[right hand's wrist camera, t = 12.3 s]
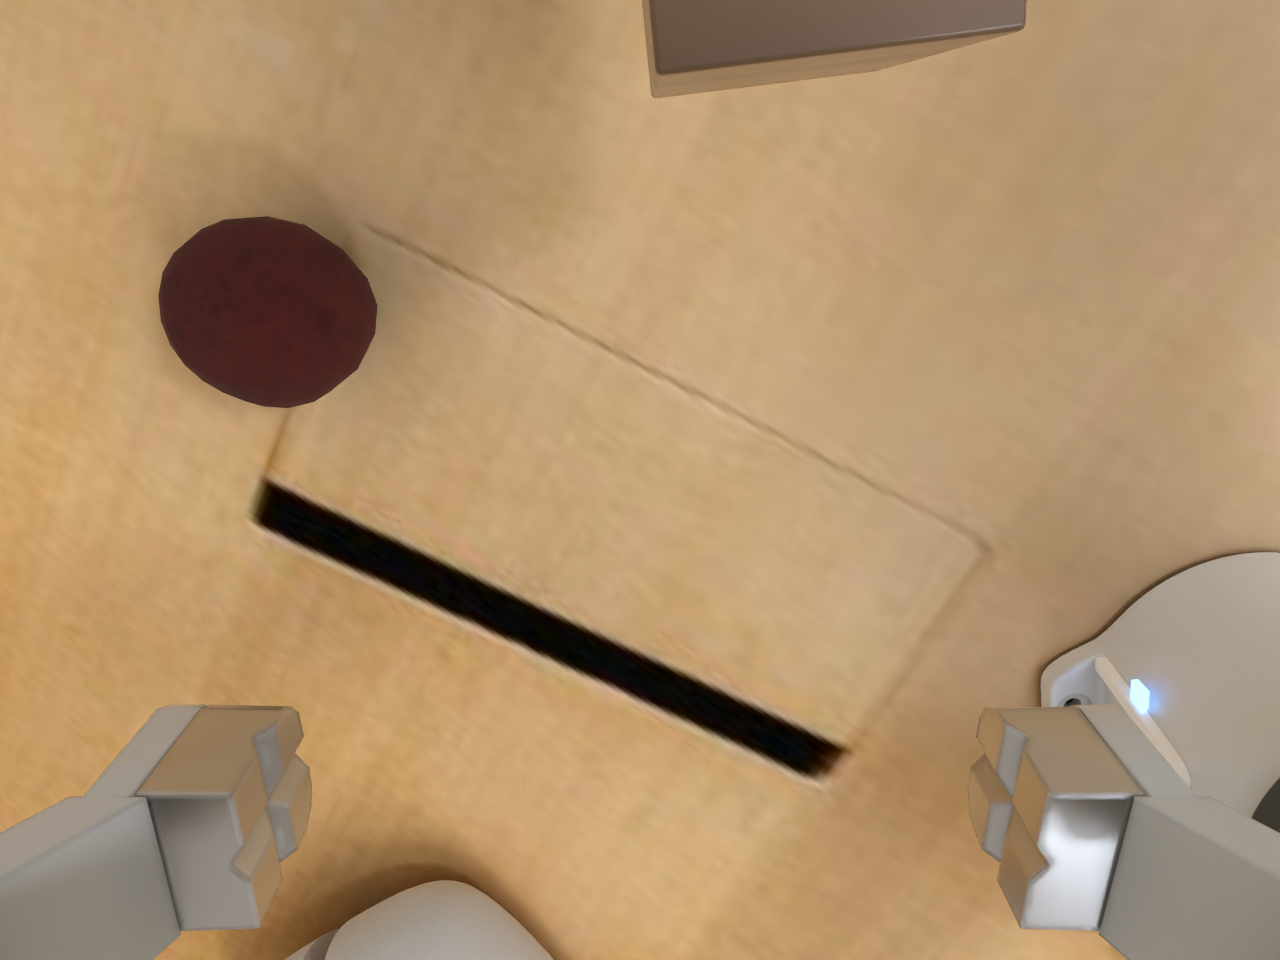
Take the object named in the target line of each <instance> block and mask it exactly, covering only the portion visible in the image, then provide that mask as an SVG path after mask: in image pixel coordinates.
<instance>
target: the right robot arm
mask: <svg viewBox="0 0 1280 960" xmlns="http://www.w3.org/2000/svg"><path fill="white" fill-rule="evenodd" d="M1040 683H1041V707H987V708H985V709H984V711H983V713H982V714H981V716H980V718H979V724H978V729H977V735H976V737H977V739H978V741H979V742H980V744H981V746H982V748H983V750H984V752H985V754H984V755H983V756H982V757H981V758H980V759H979V760H978V761H977V762H976V763H975V764H974V765H973V766H972V767H971V771H970V779H969V786H968V798H969V810H970V817H971V820H972V824H973V828H974V831H975V834H976V836H977V838H978V840H979V843H980V845H981V847H982V849H983V850H984V851H985V852H987V853H988V854H989V855H991V856H992V857H994V858H995V859H996V860H998V861H999V862H1000V868H999V873H998V879H997V881H998V883H999V885H1000V887H1001V889H1002V891H1003V893H1004V895H1005V897H1006V899H1007V901H1008V903H1009V905H1010V907H1011V910H1012V912H1013V914H1014V916H1015V918H1016V920H1017V922H1018V924H1019V926H1020V928H1021V929H1051V930H1086V931H1100V933H1099V935H1100V936H1101V937H1102V938H1104V939H1105V940H1106V941H1107V942H1108V943H1109V944H1111V945H1112V946H1113V947H1114V948H1115V949H1116V950H1117V951H1119V952H1120V953H1121V954H1122V955H1123V956H1124V957H1126V958H1127V959H1128V960H1280V552H1253V553H1243V554H1237V555H1231V556H1226V557H1222V558H1218V559H1215V560H1211V561H1208V562H1205V563H1202V564H1199V565H1197V566H1194V567H1192V568H1189V569H1187V570H1185V571H1183V572H1180V573H1178V574H1176V575H1174V576H1173V577H1171V578H1169V579H1167V580H1165V581H1164V582H1162V583H1161V584H1159V585H1157V586H1156V587H1154V588H1153V589H1151V590H1150V591H1149V592H1147V593H1146V594H1144V595H1143V596H1142V597H1141V598H1139V599H1138V600H1137V601H1136V602H1135V603H1134V604H1132V605H1131V606H1130V607H1129V608H1128V609H1127V610H1126V611H1125V612H1124V613H1123V614H1122V615H1121V616H1120V617H1119V618H1118V619H1117V620H1116V621H1115V622H1114V623H1113V624H1112V625H1111V626H1110V627H1109V628H1108V629H1107V630H1106V631H1104V632H1103V633H1102V634H1101V635H1100V636H1098V637H1097V638H1096V639H1094V640H1092V641H1090V642H1088V643H1086V644H1084V645H1082V646H1080V647H1078V648H1076V649H1074V650H1072V651H1070V652H1068V653H1066V654H1064V655H1062V656H1061V657H1059V658H1058V659H1056V660H1054V661H1053V662H1052V663H1051V664H1049V665H1048V666H1047V668H1046V669H1045V670H1044V672H1043V674H1042V677H1041V682H1040ZM1072 698H1074V700H1073V701H1072V702H1070V703H1068V704H1065V702H1066V701H1067V700H1069V699H1072ZM303 737H304V735H303V730H302V725H301V721H300V716H299V713H298V712H297V711H296V710H295V709H294V708H293V707H287V706H241V705H209V706H206V705H167V706H164V707H161V708H158V709H157V710H156V711H155V712H154V713H153V714H152V715H151V717H150V718H149V719H148V720H147V721H146V723H145V724H144V725H143V726H142V727H141V728H140V730H139V731H138V732H137V733H136V734H135V736H134V737H133V738H132V739H131V740H130V741H129V743H128V744H127V745H126V746H125V747H124V749H123V750H122V751H121V752H120V753H119V754H118V756H117V757H116V758H115V759H114V760H113V762H112V763H111V764H110V765H109V766H108V768H107V769H106V770H105V771H104V772H103V773H102V775H101V776H100V777H99V778H98V779H97V781H96V782H95V783H94V784H93V785H92V786H91V788H90V789H89V790H88V791H87V792H86V794H85V795H84V796H83V797H68V798H66V799H64V800H62V801H60V802H58V803H56V804H54V805H52V806H51V807H49V808H47V809H45V810H43V811H41V812H39V813H37V814H35V815H33V816H32V817H30V818H28V819H26V820H24V821H22V822H20V823H18V824H16V825H14V826H12V827H11V828H9V829H7V830H5V831H3V832H1V833H0V960H153V959H154V958H155V957H156V956H157V955H158V954H160V953H161V952H162V951H163V950H164V949H165V948H166V947H168V946H169V945H170V944H171V943H172V942H173V941H175V940H176V939H177V938H178V937H179V936H180V935H181V933H180V931H193V930H227V929H259V928H260V926H261V924H262V922H263V920H264V918H265V916H266V914H267V912H268V910H269V908H270V905H271V903H272V901H273V899H274V897H275V895H276V893H277V891H278V889H279V887H280V885H281V883H282V881H283V879H282V873H281V868H280V862H281V861H282V860H284V859H285V858H286V857H288V856H289V855H291V854H292V853H293V852H295V851H296V850H297V849H298V847H299V845H300V843H301V840H302V838H303V836H304V834H305V831H306V828H307V824H308V819H309V814H310V810H311V805H312V783H311V777H310V770H309V767H308V766H307V765H306V764H305V763H304V762H303V761H302V760H301V759H300V758H299V757H298V756H297V755H296V754H295V752H296V750H297V748H298V746H299V744H300V742H301V741H302V739H303Z"/></svg>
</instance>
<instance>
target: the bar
mask: <svg viewBox="0 0 1280 960" xmlns="http://www.w3.org/2000/svg"><path fill="white" fill-rule="evenodd" d="M642 6H643V16H644V26H645V36H646V46H647V56H648V66H649V76H650V86H651V95H652V97H653V98H662V97H670V96H678V95H687V94H695V93H703V92H711V91H719V90H727V89H735V88H743V87H751V86H759V85H767V84H775V83H783V82H792V81H800V80H808V79H816V78H824V77H832V76H840V75H848V74H856V73H864V72H872V71H878V70H881V69H885V68H888V67H892V66H895V65H899V64H903V63H906V62H910V61H913V60H917V59H921V58H924V57H928V56H931V55H935V54H939V53H942V52H946V51H949V50H953V49H956V48H960V47H964V46H967V45H971V44H974V43H978V42H982V41H985V40H989V39H992V38H996V37H999V36H1003V35H1007V34H1010V33H1014V32H1017V31H1020V30H1022V29H1023V28H1024V26H1025V20H1026V0H642Z"/></svg>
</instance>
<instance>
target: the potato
mask: <svg viewBox="0 0 1280 960" xmlns="http://www.w3.org/2000/svg"><path fill="white" fill-rule="evenodd" d="M159 305H160V316H161V322H162V325H163V327H164V330H165V332H166V335H167V337H168V340H169V342H170V345H171V346H172V348H173V349H174V351H175V352H176V353H177V355H178V356H179V358H180V359H181V360H182V362H183V363H184V365H186V366H187V367H188V368H189V369H190V370H191V371H192V372H194V373H195V374H196V375H197V376H198V377H199V378H200V379H202V380H203V381H204V382H206V383H208V384H209V385H211V386H213V387H215V388H216V389H218V390H220V391H222V392H223V393H226V394H229V395H231V396H234V397H236V398H239V399H241V400H244V401H247V402H250V403H254V404H257V405H261V406H266V407H281V408H290V407H294V406H298V405H302V404H306V403H310V402H314V401H316V400H317V399H319V398H320V397H322V396H324V395H325V394H327V393H329V392H330V391H331V390H332V389H334V388H335V387H336V386H337V385H339V384H340V383H341V382H342V381H343V380H345V379H346V378H347V377H348V376H349V375H351V374H352V373H353V372H354V371H356V370H357V369H358V367H359V365H360V363H361V361H362V359H363V357H364V355H365V353H366V351H367V349H368V347H369V345H370V343H371V341H372V339H373V337H374V334H375V328H376V316H377V303H376V300H375V298H374V295H373V292H372V290H371V287H370V284H369V282H368V279H367V277H366V276H365V275H364V274H363V273H362V272H361V271H360V269H359V268H358V267H357V266H356V265H355V264H354V262H353V261H352V260H351V259H350V258H349V257H348V255H347V254H346V253H345V252H344V251H343V250H342V249H341V248H340V247H338V246H337V245H335V244H333V243H332V242H330V241H329V240H327V239H326V238H324V237H323V236H321V235H320V234H318V233H316V232H315V231H313V230H312V229H310V228H309V227H307V226H306V225H302V224H298V223H293V222H289V221H285V220H280V219H276V218H272V217H255V218H241V219H228V220H223V221H220V222H218V223H215V224H213V225H211V226H208V227H206V228H203V229H201V230H200V231H199V232H198V233H197V234H195V235H194V236H193V237H192V238H191V239H190V240H188V241H187V242H186V243H185V244H184V245H183V246H181V247H180V248H179V249H178V250H177V251H176V252H174V253H173V255H172V257H171V259H170V261H169V262H168V264H167V266H166V268H165V269H164V271H163V274H162V280H161V285H160V291H159Z"/></svg>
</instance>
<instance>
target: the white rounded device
mask: <svg viewBox="0 0 1280 960" xmlns="http://www.w3.org/2000/svg"><path fill="white" fill-rule="evenodd" d="M284 960H554V959H553V958H552V957H551V956H550V955H549V953H548V952H547V951H546V950H545V949H544V948H543V947H542V946H541V945H540V944H539V942H538V941H537V940H536V939H535V938H534V937H533V936H532V935H531V934H530V933H529V932H528V931H527V930H526V929H525V928H524V927H523V926H522V925H521V924H520V923H519V922H518V921H517V920H516V919H515V918H514V917H513V916H512V915H510V914H509V913H508V912H507V911H506V910H505V909H504V908H503V907H502V906H500V905H499V904H498V903H496V902H495V901H494V900H493V899H491V898H490V897H489V896H487V895H486V894H484V893H483V892H481V891H479V890H478V889H476V888H474V887H473V886H471V885H468V884H465V883H462V882H458V881H453V880H438V881H433V882H428V883H424V884H421V885H418V886H415V887H412V888H409V889H406V890H404V891H402V892H400V893H398V894H395V895H393V896H391V897H389V898H387V899H385V900H383V901H382V902H380V903H378V904H376V905H374V906H372V907H371V908H369V909H367V910H365V911H364V912H362V913H360V914H358V915H357V916H355V917H353V918H351V919H350V920H348V921H347V922H346V923H345V924H344V925H343V926H342V927H341V928H340V929H338V930H334V931H331V932H329V933H326V934H324V935H322V936H321V937H319V938H317V939H316V940H314V941H312V942H311V943H309V944H308V945H306V946H304V947H303V948H301V949H300V950H298V951H296V952H295V953H293V954H292V955H290V956H289V957H287V958H286V959H284Z"/></svg>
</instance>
